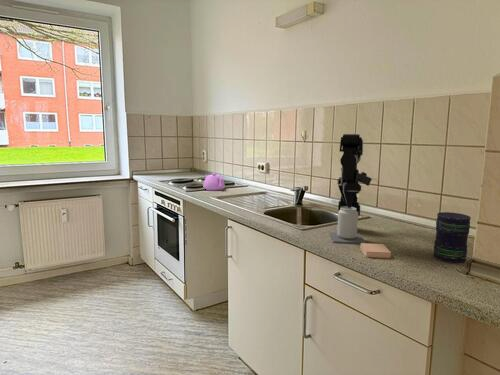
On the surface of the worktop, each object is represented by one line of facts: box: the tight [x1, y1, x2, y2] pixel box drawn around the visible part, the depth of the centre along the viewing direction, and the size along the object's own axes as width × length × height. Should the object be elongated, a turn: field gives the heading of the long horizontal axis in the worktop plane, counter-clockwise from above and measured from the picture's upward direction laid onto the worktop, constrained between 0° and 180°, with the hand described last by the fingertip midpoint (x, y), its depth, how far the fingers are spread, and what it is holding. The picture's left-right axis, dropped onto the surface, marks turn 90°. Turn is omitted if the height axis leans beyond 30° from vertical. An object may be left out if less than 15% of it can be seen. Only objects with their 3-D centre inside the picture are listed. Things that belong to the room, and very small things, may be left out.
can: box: [336, 207, 359, 239], centre depth 139 cm, size 8×8×12 cm
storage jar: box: [432, 211, 471, 265], centre depth 118 cm, size 10×10×15 cm
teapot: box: [202, 172, 226, 192], centre depth 255 cm, size 22×16×12 cm
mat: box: [329, 232, 366, 245], centre depth 140 cm, size 12×12×1 cm
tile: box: [359, 243, 392, 259], centre depth 124 cm, size 2×8×9 cm
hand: (347, 205), depth 141 cm, fingers open, 9 cm apart
